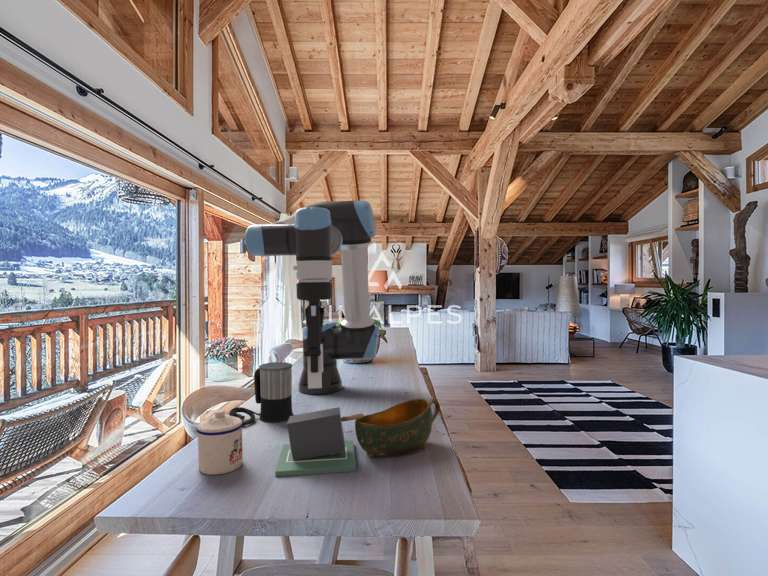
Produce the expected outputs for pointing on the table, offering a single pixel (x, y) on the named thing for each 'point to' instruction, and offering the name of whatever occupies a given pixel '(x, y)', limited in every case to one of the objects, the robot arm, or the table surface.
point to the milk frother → (270, 393)
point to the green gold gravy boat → (397, 429)
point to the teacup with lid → (220, 444)
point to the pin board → (316, 462)
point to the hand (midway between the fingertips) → (316, 379)
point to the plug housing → (317, 433)
